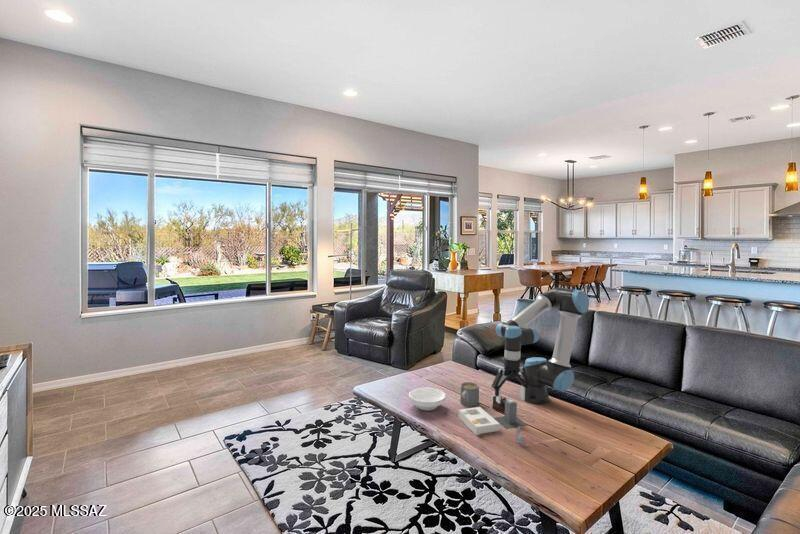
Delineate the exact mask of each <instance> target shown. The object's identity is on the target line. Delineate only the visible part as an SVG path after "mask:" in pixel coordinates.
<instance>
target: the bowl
mask: <svg viewBox="0 0 800 534" xmlns="http://www.w3.org/2000/svg"><path fill="white" fill-rule="evenodd" d="M408 399H409V402H411V404H413V405H415V406H416V407H417V408H418V409H420V410H422V411H434V410H435V409H436V408H438V407H439V406H441V405H443V404H444V402H445V401H446V393H445V392H444V391H443V390H441V389H437V388H433V387H419V388H414V389H412V390H411V391H409V393H408Z"/></svg>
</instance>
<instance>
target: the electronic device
mask: <svg viewBox="0 0 800 534" xmlns="http://www.w3.org/2000/svg"><path fill="white" fill-rule="evenodd" d="M505 401H507V397H505V396H501V399H500V403H498V402H496V395H495V396H493V397H492V406H491V408H492V409H493V410H495V411H498V412H500V413H503V414H505Z"/></svg>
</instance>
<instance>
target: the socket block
mask: <svg viewBox="0 0 800 534" xmlns="http://www.w3.org/2000/svg"><path fill="white" fill-rule="evenodd" d="M457 416H458V418H459V420H461V421H462V423H463V424H464V425H465V426H467V428H468V429H469V430H471V431H472V432H473V434H474V435H475V436H480V435H481V436H482V434H486V433H493V432H500V428H501V427H500V425H501V424H500V423H499V422H497V421H496V420H495V419H494V418H495V417H493V416H492V415H491V414H489V413H488V412H487V411H485V410H484V409H483V408H482V407H481V406H475V407H470V408H469V407H468V408H461V409H458V415H457Z"/></svg>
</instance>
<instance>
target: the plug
mask: <svg viewBox="0 0 800 534" xmlns="http://www.w3.org/2000/svg"><path fill="white" fill-rule="evenodd" d="M517 406H518V403H517V401H515V400H514V399H506V401H505V413H504V416H505V421H506V422H507V423H508V424H512V423H516V417H517V409H518V407H517Z"/></svg>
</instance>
